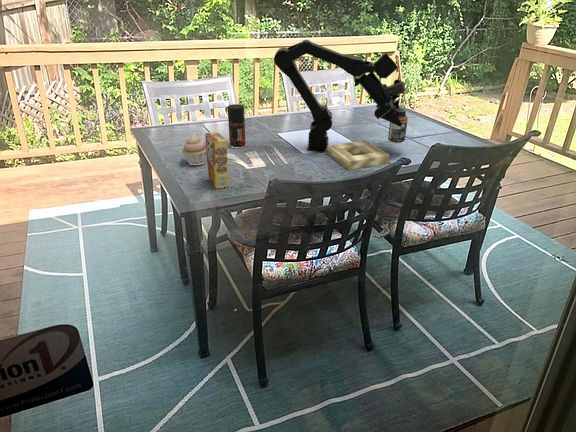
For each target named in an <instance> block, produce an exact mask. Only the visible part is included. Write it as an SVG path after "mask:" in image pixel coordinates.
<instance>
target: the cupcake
mask: <svg viewBox="0 0 576 432" xmlns="http://www.w3.org/2000/svg"><path fill="white" fill-rule="evenodd" d="M181 153H182V154H183V155H184V156H183V157H184V158H185V161H186V162H188V163H191V164H199V163H203V162H205V161H206V162H207V154H206V141H204V139H202V138H200V137H198V136H197V135H195V134H192V136H190V137H189V138H188V139H186V142H185V143H184V145H183V148H182V150H181ZM206 162H205V163H206ZM188 163H187V164H188Z"/></svg>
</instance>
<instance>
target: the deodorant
mask: <svg viewBox="0 0 576 432" xmlns="http://www.w3.org/2000/svg"><path fill="white" fill-rule="evenodd" d="M227 118H228V119H227V122H228V134H229V135H228V138H229V146H230V145H231V146H233V147H242V146H245V144H246V125H245V121H246V120H245V106H244V104H240V103H237V104H236V103H234V104H229V105H227ZM245 147H246V146H245Z"/></svg>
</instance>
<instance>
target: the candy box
mask: <svg viewBox="0 0 576 432" xmlns="http://www.w3.org/2000/svg"><path fill="white" fill-rule="evenodd" d="M204 136H205V137H204V138H205V144H206V154H207V158H206V164H207V165H206V167H207V177H208V178H209V179H210V180H209V179H208V178H207V179H208V180H209V182H210V183H211V182H212V183H213V184H214V185H213V184H212V183H211V184H212V185H213V186H214V188H215V189H216V190H217V189H218V188H219V189H225V188H228V187H229V167H228V165H229V164H228V161H229V160H228V140H227V139H226V138H225V137H224V136H223V135H221V133H219V132H217V131H210V132H206V133H205V134H204ZM224 187H225V188H224Z"/></svg>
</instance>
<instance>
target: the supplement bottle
mask: <svg viewBox="0 0 576 432" xmlns="http://www.w3.org/2000/svg"><path fill="white" fill-rule="evenodd" d="M395 112H396V114H397V116H398V118H399V119H400V121H401V123H402V126H400V127H399V126H397V125H395V124H393V123H391V122H389V128H388V135H387V139H388V141H389V142H390V143H394V144H400V143H401V144H402V143H403V142H405V139H406V134H407V128H408V126H407V125H408V119H409V118H408V115H406V114H407V113H406V112H407V110H406V108H401V107H400V108H396V109H395Z"/></svg>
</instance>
